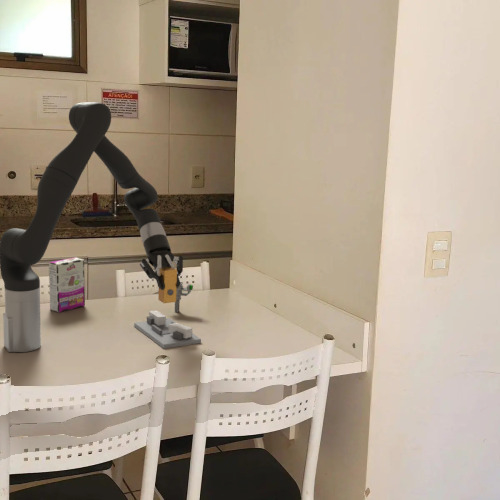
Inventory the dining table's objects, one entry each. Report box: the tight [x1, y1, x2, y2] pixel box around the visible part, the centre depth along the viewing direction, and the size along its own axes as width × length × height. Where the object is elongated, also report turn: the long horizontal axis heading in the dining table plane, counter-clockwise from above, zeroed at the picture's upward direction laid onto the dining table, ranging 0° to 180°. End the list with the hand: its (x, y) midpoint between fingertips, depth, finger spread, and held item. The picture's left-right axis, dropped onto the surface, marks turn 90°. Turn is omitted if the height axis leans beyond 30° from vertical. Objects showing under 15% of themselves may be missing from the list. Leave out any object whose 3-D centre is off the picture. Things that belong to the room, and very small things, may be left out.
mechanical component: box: [174, 281, 194, 313], centre depth 227 cm, size 3×10×10 cm, turn 78°
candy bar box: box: [48, 256, 86, 313], centre depth 225 cm, size 11×5×16 cm, turn 143°
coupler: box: [157, 267, 177, 304], centre depth 202 cm, size 4×5×10 cm
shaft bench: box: [133, 310, 202, 349], centre depth 205 cm, size 12×22×4 cm, turn 32°
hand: (170, 287), depth 201 cm, fingers closed on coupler, 4 cm apart
